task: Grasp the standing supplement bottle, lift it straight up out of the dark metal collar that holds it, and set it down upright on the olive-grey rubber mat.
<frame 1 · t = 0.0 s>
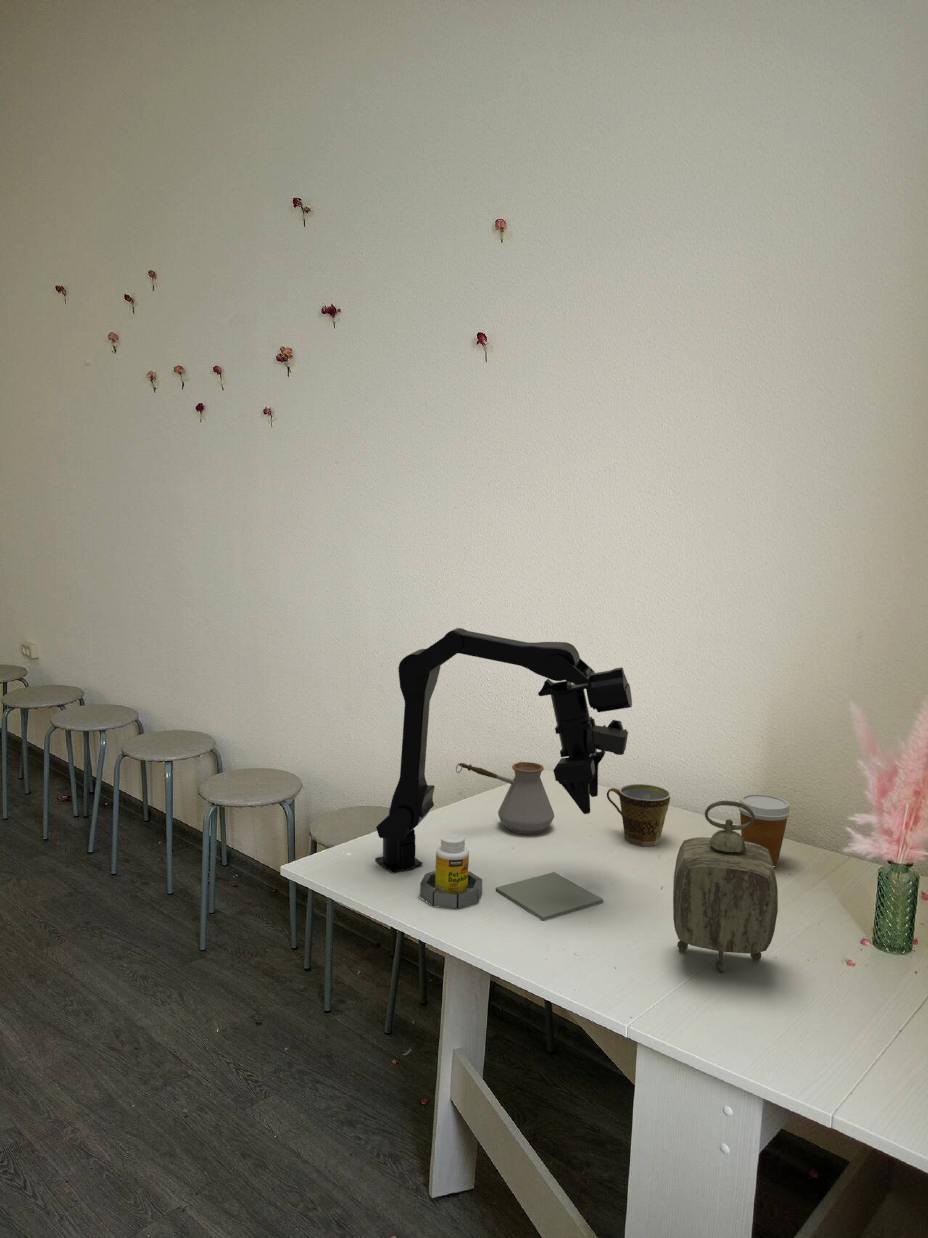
hand: (590, 804, 161), 15 cm above the table, tool pointing down, fingers open, 9 cm apart
grey turkish cezve: (503, 831, 191), on the table
tabletop clock: (719, 966, 139), on the table
mat: (548, 896, 160), on the table
collar: (451, 895, 160), on the table
ceramic cup: (634, 839, 188), on the table
supplement bottle: (451, 896, 160), resting in collar
disposable coffee cup: (759, 863, 177), on the table
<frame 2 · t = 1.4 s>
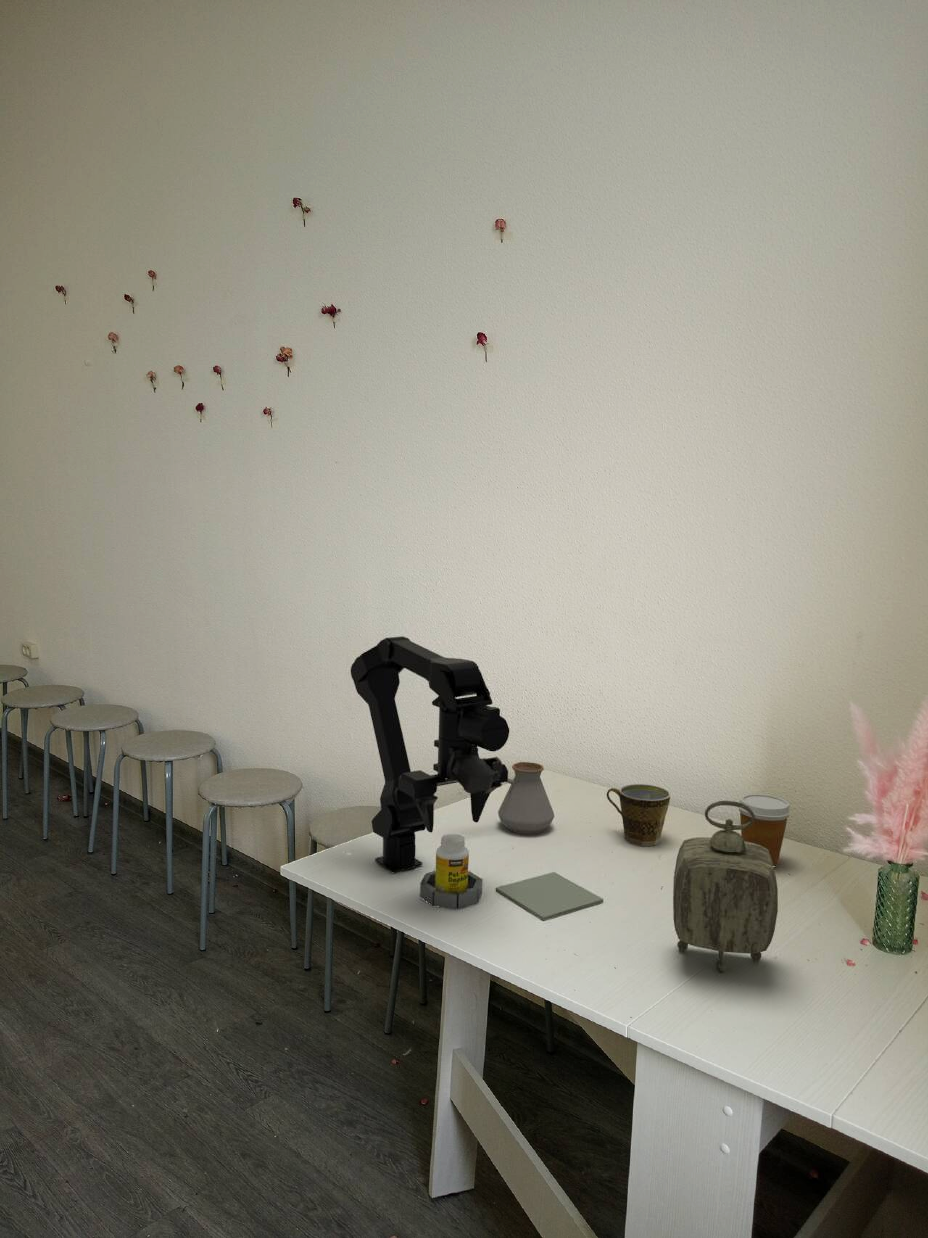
hand: (453, 826, 158), 12 cm above the table, tool pointing down, fingers open, 9 cm apart
nothing on the table moved.
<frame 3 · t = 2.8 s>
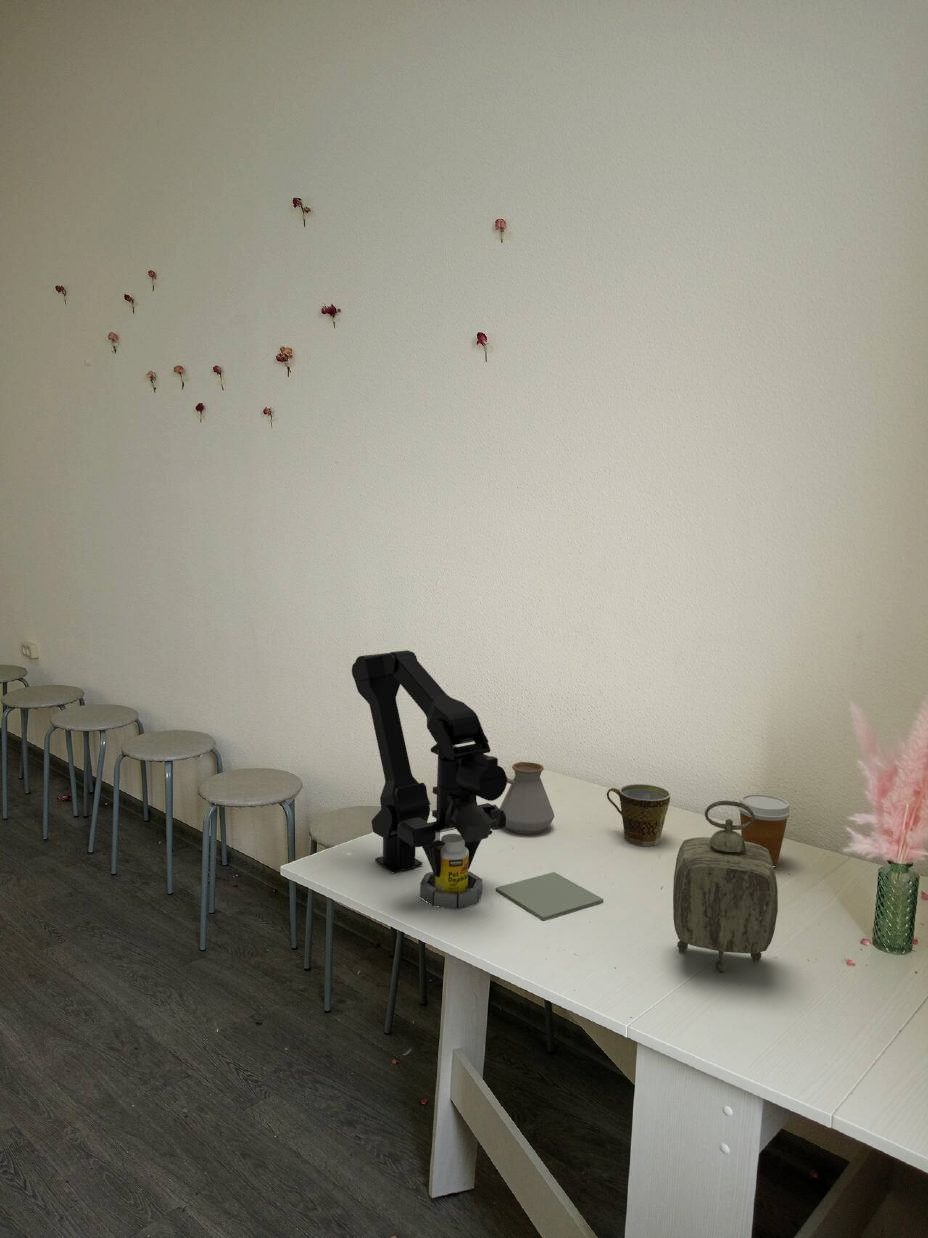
hand: (451, 872, 159), 4 cm above the table, tool pointing down, fingers closed on supplement bottle, 6 cm apart
supplement bottle: (451, 896, 160), resting in collar, touching gripper
everything else where it was.
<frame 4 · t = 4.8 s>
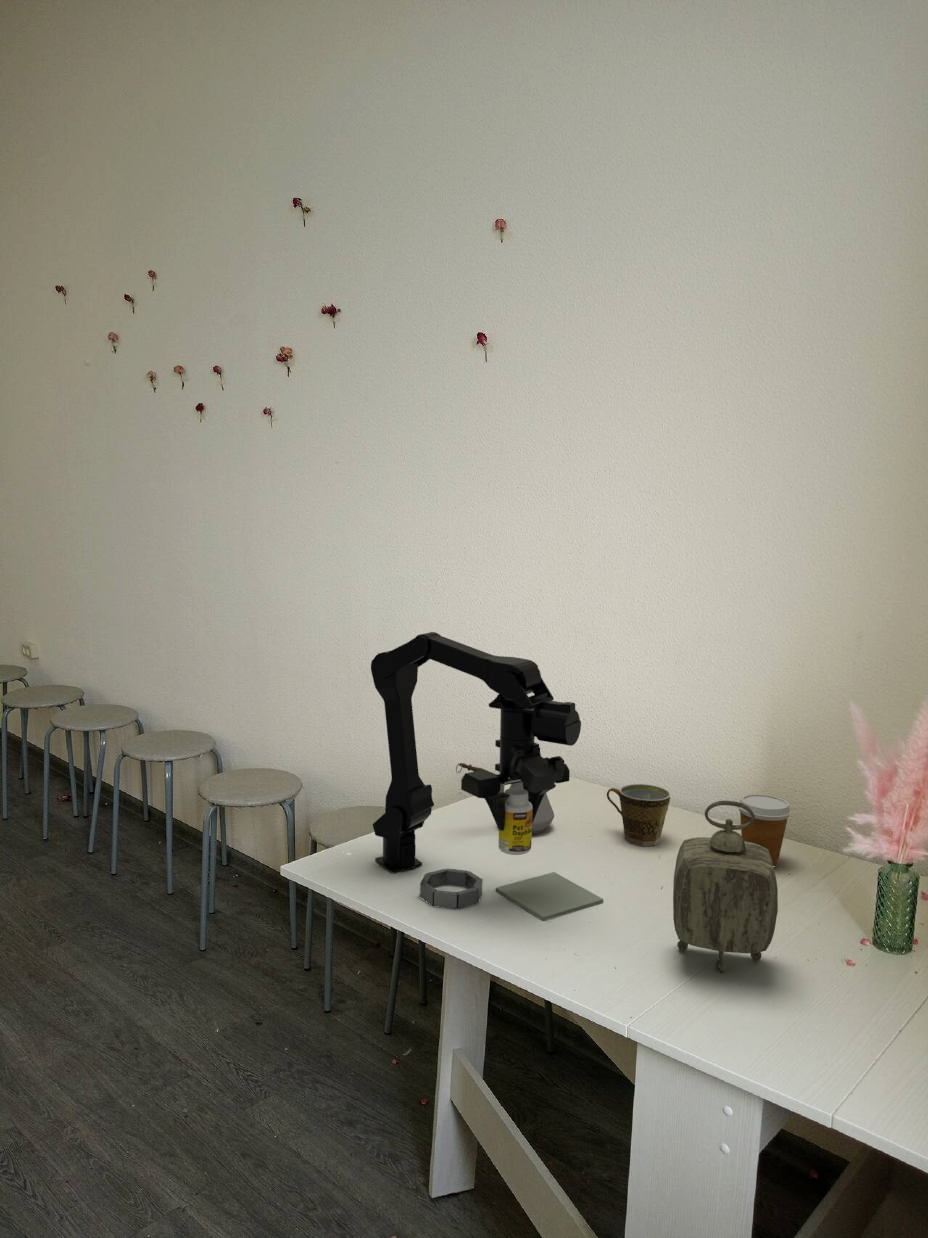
hand: (515, 826, 158), 12 cm above the table, tool pointing down, fingers closed on supplement bottle, 6 cm apart
supplement bottle: (514, 851, 158), point 8 cm above the table, touching gripper
everything else where it was.
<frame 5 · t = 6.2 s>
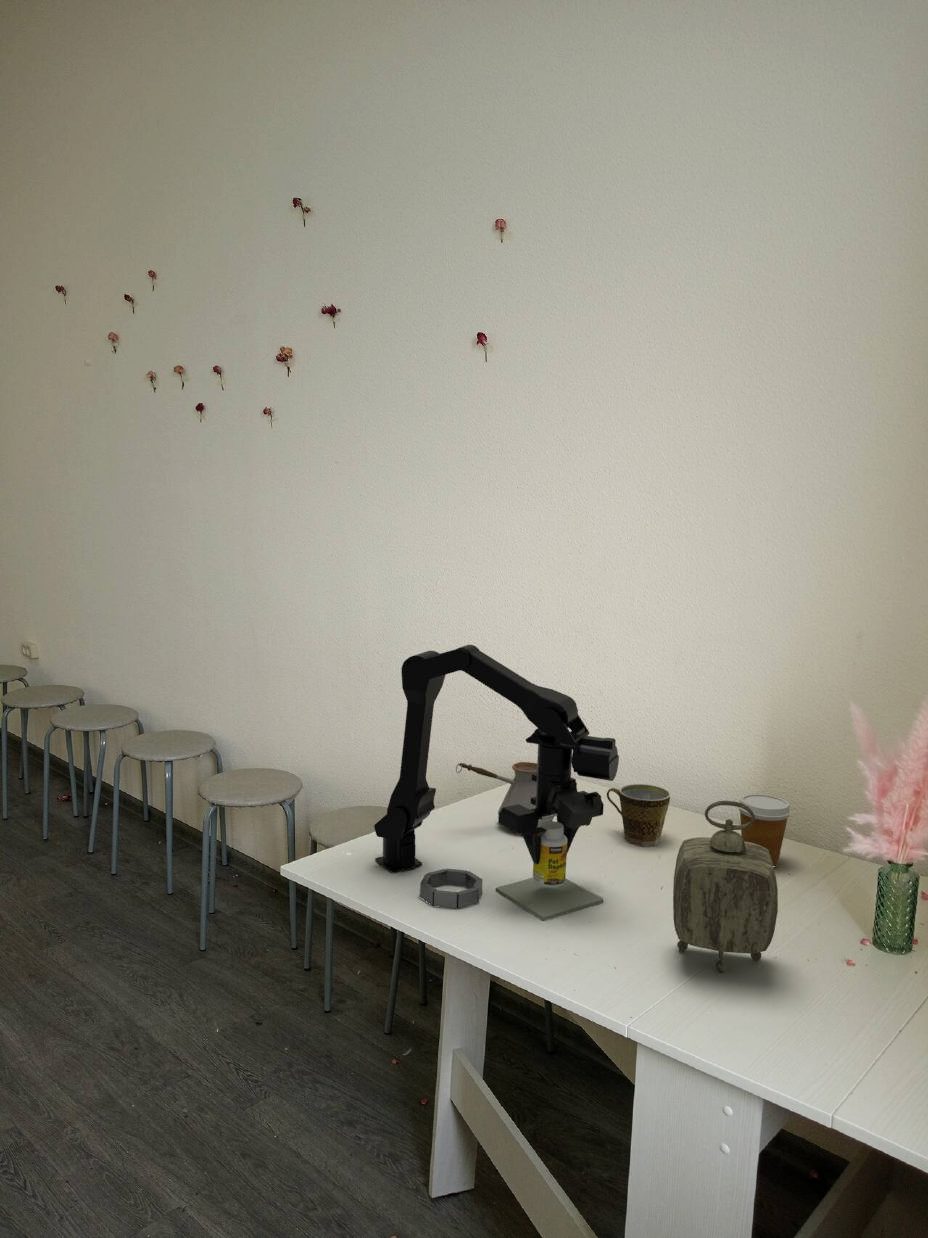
hand: (549, 859, 159), 7 cm above the table, tool pointing down, fingers closed on supplement bottle, 6 cm apart
supplement bottle: (548, 883, 160), point 2 cm above the table, touching gripper
everything else where it was.
when the fingers open (6 cm above the table, at t = 7.1 s): supplement bottle drops 1 cm, resting on mat.
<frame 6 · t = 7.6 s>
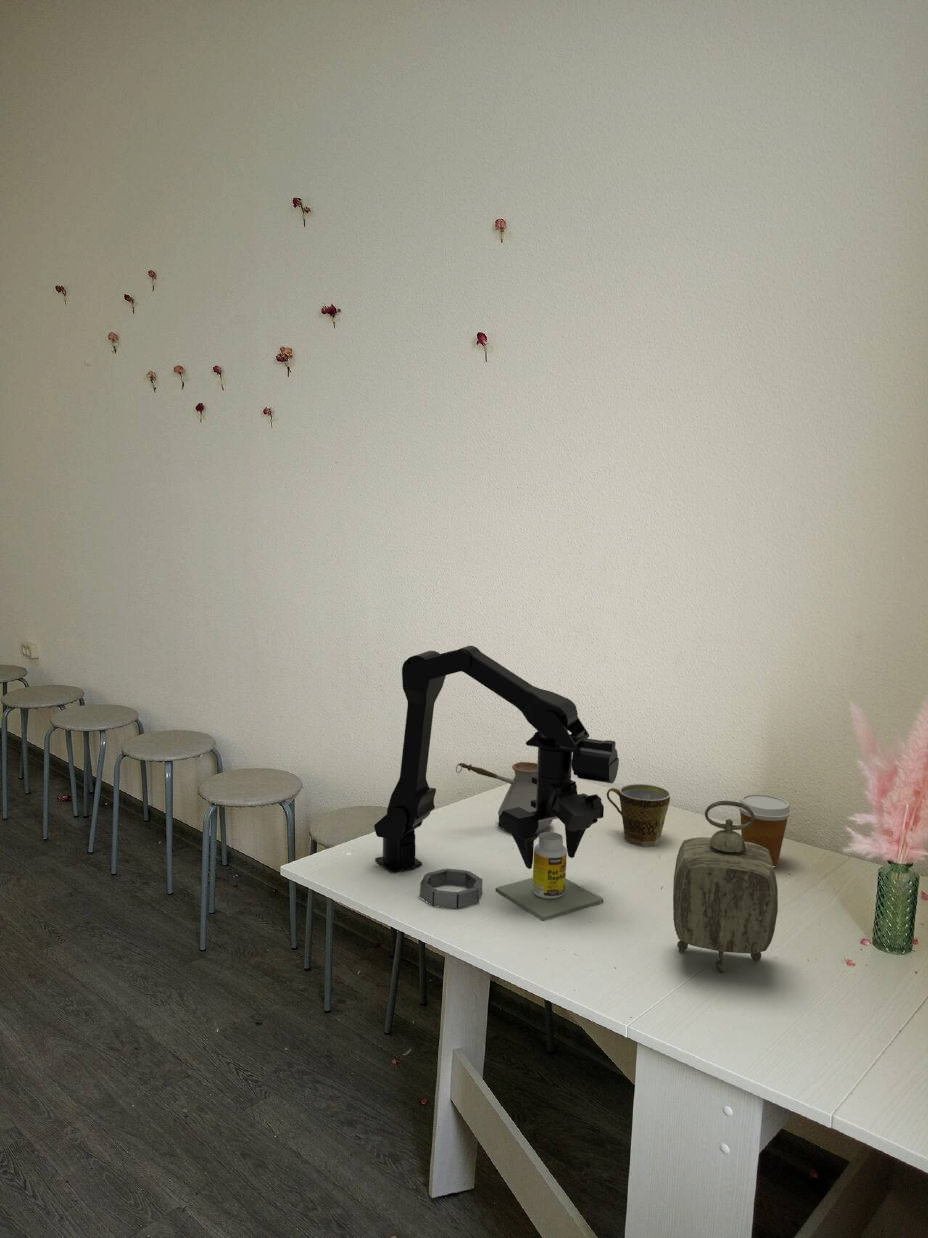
hand: (550, 862, 159), 6 cm above the table, tool pointing down, fingers open, 9 cm apart
supplement bottle: (548, 894, 160), resting on mat
everything else where it was.
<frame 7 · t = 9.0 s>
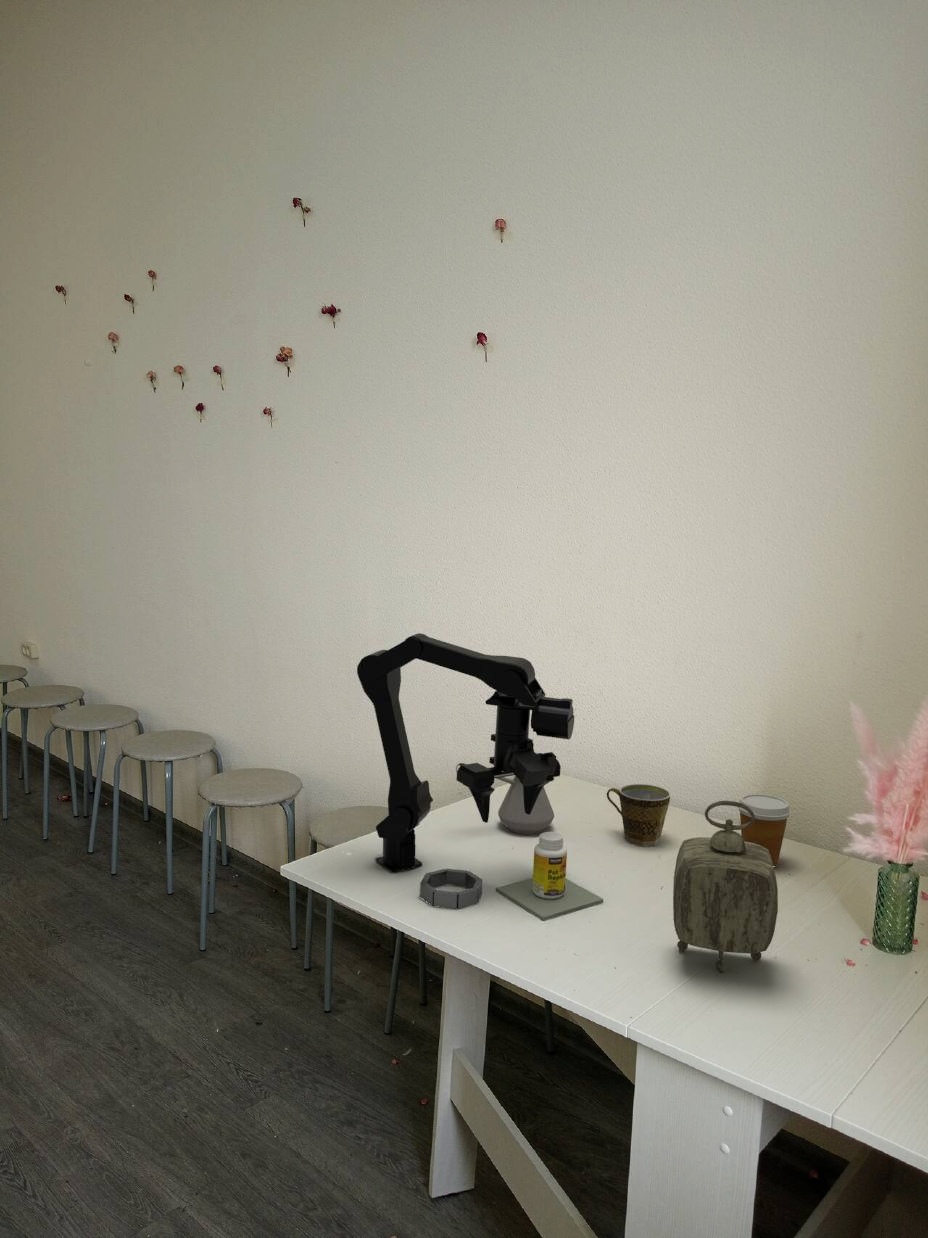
hand: (506, 817, 165), 11 cm above the table, tool pointing down, fingers open, 9 cm apart
nothing on the table moved.
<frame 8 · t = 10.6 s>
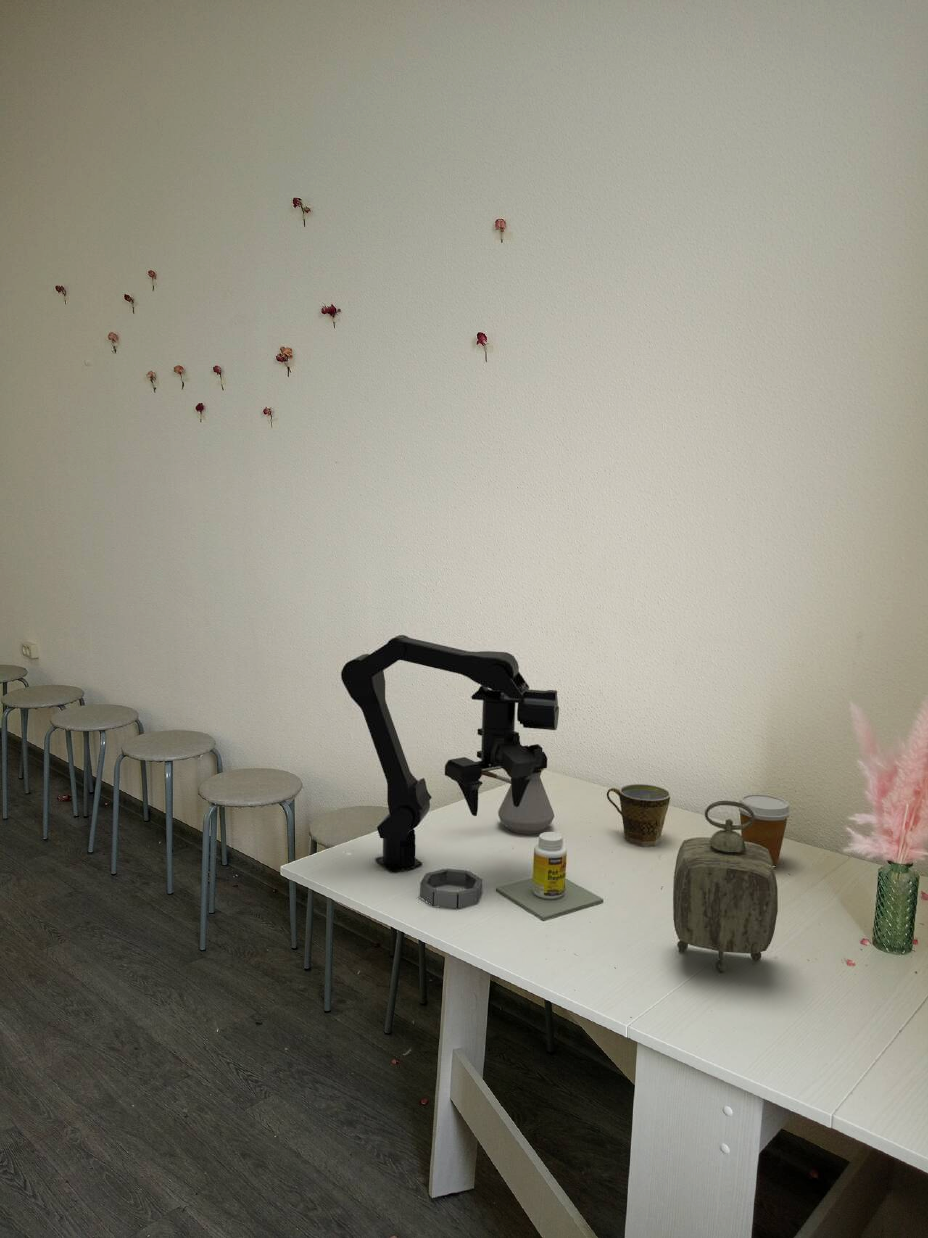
hand: (495, 811, 166), 12 cm above the table, tool pointing down, fingers open, 9 cm apart
nothing on the table moved.
at the end: supplement bottle inside the target area on the mat (0.1 cm from its centre), point 0.4 cm above the mat's base; supplement bottle tilted 0°; the gripper is holding nothing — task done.
